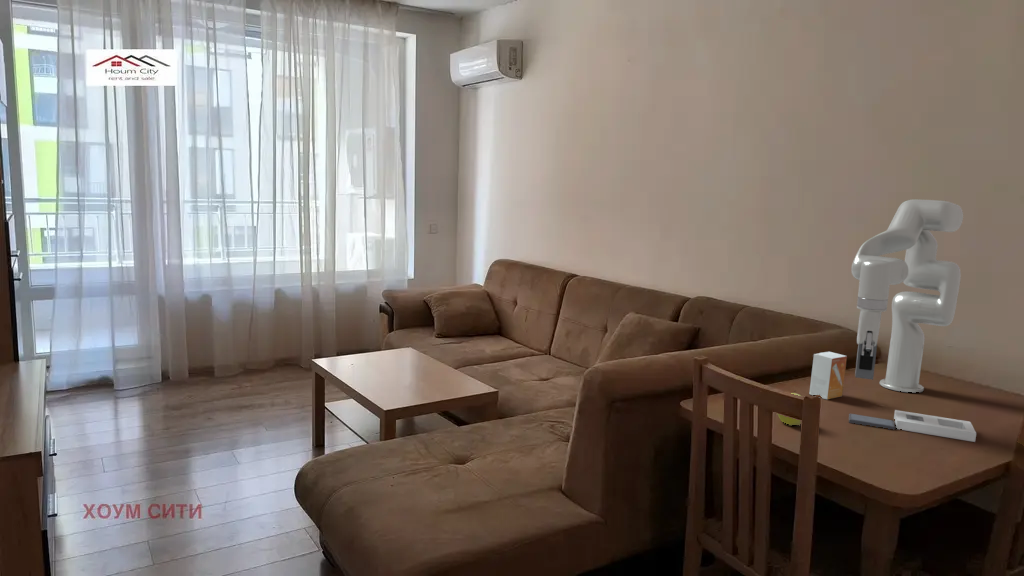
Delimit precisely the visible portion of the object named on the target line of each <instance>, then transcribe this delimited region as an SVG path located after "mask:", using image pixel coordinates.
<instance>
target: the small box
mask: <svg viewBox="0 0 1024 576" xmlns="http://www.w3.org/2000/svg"><path fill="white" fill-rule="evenodd" d="M847 359H848V357H847V355H844V354H840V353H837V352H832V351H824V352H819V353H813V360H812V368H811V377H810V385H809V395H811V396H813V395H820V396H821V397H822V398H821V399H824V400H830V399H835V398H841V397H843V391H844V382H845V376H846V375H845V373H846V367H847Z"/></svg>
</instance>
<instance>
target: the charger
mask: <svg viewBox="0 0 1024 576" xmlns="http://www.w3.org/2000/svg"><path fill="white" fill-rule="evenodd" d="M857 345H858V344H857ZM862 345H863V343H862V344H860V345H858V346H857V353H856V362H855V372H854V377H855V378H858V379H866V380H874V375H875V367H876V366H875V365H876V357H877V351H878V350H877V348H878V344H877V345H876V346H874V347H873V364H872V370H864V369H859V364H860V355H862ZM864 345H866V343H865V342H864ZM871 345H872V343H871ZM864 348H866V347H864Z"/></svg>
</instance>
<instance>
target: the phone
mask: <svg viewBox="0 0 1024 576" xmlns="http://www.w3.org/2000/svg"><path fill="white" fill-rule="evenodd" d="M848 423H849V424H854V423H855V425H860V424H862V425H861V426H866V425H870V426H869V427H872V426H876V427H875V428H878V427H883V428H882V429H884V428H888V429H887V430H890V429H893V430H892V431H894V430H895V429H896V426H895V421H894V419H893V420H892V419H887V418H880V417H874V416H868V415H862V414H855V413H848Z"/></svg>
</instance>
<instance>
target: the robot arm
mask: <svg viewBox="0 0 1024 576" xmlns="http://www.w3.org/2000/svg"><path fill="white" fill-rule="evenodd" d="M963 219H964V212H963V209H962V207H961V205H959V204H957V203H953V202H951V201H946V200H938V199H937V200H936V199H935V200H934V199H917V198H916V199H915V198H914V199H908V200H906V201H903V202H902V203H901V204H900V205H899V206H898V208H897V210H896V212H895V214H894V216H893V218H892V219H891V222H890V223H889V226H888V227H887V229H886V230H885V231H883V232H882V231H881V232H880V233H878V234H876V235H874V236H872V237H871V238H869V239H867V240H865V242H863V243H862V245H861V246H860V247H859V249H858V250H857V252H856V254H855V257H854V258H853V261H852V263H851V276H853V278H854V279H856V280H858V281H859V282H858V293H857V300H856V301H857V302H856V309H858V310H859V317H858V325H857V334H856V335H857V336H856V344H857V345H860V344H862V343H863V345H862V355H860V364H859V369H864V370H872V364H873V347H874V346H876V345H877V346H878V340H879V334H880V329H881V328H880V327H881V320H882V312H883V313H884V312H885V313H886V312H887V310H888V302H889V293H890V287H891V286H892V285H893V286H895V285H899V284H904V285H905V286H906V287H910V288H915V289H921V290H929V291H937V292H939V294H931V293H926V292H925V293H924V292H918V291H917V292H916V291H901V292H898V293H896V294H895V295H894V296H893V298H892V300H891V316H892V317H891V319H892V320H891V335H890V342H889V349H888V357H887V366H886V373H885V378H883V379H880V380H879V385H880V386H882V387H883V388H884V389H889V390H892V391H896V392H900V391H901V393H908V392H912V393H913V394H917V393H916V392H919V393H923V391H924V390H925V387H924V386H923V385H922V384H920V378H921V377H920V376H921V371H922V370H921V368H922V362H923V354H924V346H925V337H926V336H925V333H924V331H923V329H922V328H921V326H920V325H919V324H924V325H931V326H939V327H948V326H951V324H952V322H953V321H954V318H955V313H956V309H957V303H958V297H959V293H960V292H959V291H960V284H961V278H962V277H961V275H962V272H961V271H962V270H961V268H960V266H959V265H958V263H956V262H955V261H954V262H953V261H949V260H939V259H937V252H938V248H939V245H938V240H937V239H936V237H935V236H934V235H933V233H932V232H945V233H954V232H956V231H958V230H959V229H960V227H961V225H962V224H963V221H964V220H963ZM931 231H932V232H931ZM902 251H905V256H904V260H903V259H901V258H897V257H889V256H883V255H889V254H892V253H893V254H894V253H898V252H902ZM890 285H891V286H890ZM864 342H865V343H866V345H864ZM871 343H872V345H871ZM864 347H866V348H864Z"/></svg>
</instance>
